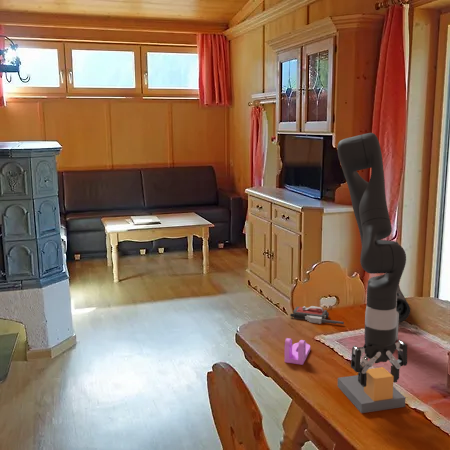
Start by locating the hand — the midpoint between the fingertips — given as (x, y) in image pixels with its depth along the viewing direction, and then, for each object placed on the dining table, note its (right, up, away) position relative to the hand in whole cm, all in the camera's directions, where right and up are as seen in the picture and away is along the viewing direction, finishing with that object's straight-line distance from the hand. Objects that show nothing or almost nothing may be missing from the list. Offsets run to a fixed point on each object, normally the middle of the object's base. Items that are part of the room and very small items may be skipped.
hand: (378, 383), depth 134 cm
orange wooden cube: (0, -3, +1) cm, 3 cm away
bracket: (-16, -1, +31) cm, 35 cm away
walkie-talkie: (-5, +5, +59) cm, 60 cm away
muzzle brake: (+23, +7, +65) cm, 70 cm away
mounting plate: (-1, -5, +5) cm, 7 cm away
